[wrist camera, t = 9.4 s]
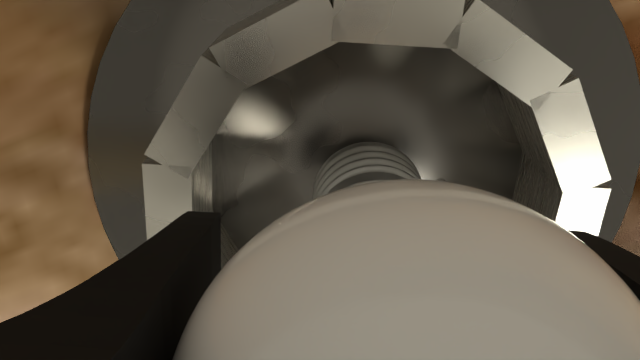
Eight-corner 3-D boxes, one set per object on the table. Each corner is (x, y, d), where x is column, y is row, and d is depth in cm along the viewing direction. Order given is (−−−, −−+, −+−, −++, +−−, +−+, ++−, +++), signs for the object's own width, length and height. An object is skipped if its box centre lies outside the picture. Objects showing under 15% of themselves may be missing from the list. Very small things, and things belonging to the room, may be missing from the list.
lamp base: (755, 102, 14) (853, 140, 12) (414, 447, 19) (430, 529, 16) (277, -286, 11) (265, -353, 8) (7, 244, 16) (-54, 305, 13)
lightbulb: (447, 304, 16) (664, 931, 6) (224, 264, 16) (48, 877, 5) (526, 89, 14) (1125, 535, 3) (264, 32, 13) (79, 366, 3)
